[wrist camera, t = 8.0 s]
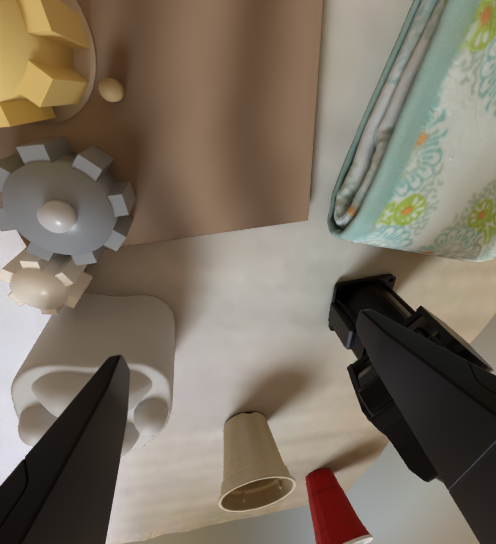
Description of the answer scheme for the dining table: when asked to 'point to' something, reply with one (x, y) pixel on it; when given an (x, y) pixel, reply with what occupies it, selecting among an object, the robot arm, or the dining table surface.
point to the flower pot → (252, 466)
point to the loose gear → (38, 59)
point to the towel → (428, 140)
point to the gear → (64, 200)
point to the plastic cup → (333, 511)
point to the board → (195, 110)
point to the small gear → (45, 281)
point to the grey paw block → (91, 355)
